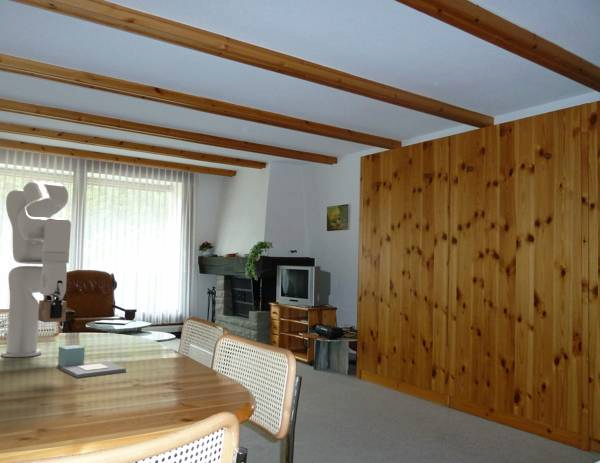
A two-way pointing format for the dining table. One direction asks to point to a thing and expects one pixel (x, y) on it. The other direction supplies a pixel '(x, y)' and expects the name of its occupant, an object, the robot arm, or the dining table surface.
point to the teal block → (71, 355)
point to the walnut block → (45, 311)
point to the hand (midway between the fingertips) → (51, 316)
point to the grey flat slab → (92, 369)
